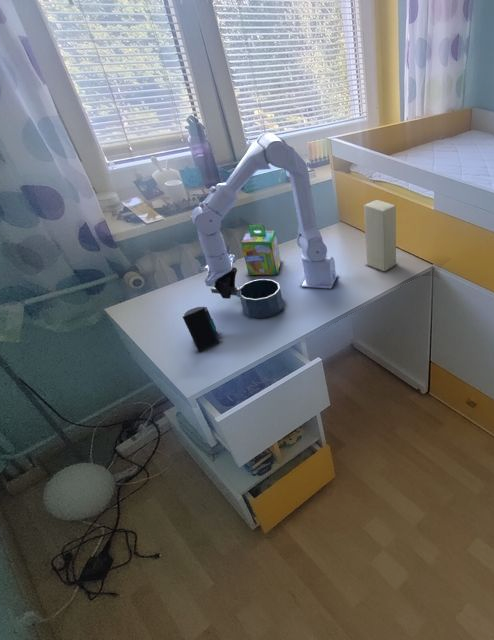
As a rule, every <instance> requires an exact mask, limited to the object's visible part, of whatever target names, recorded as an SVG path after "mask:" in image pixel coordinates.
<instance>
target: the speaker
mask: <svg viewBox="0 0 494 640" xmlns="http://www.w3.org/2000/svg"><path fill="white" fill-rule="evenodd" d="M182 319H183V321H184V323H185V326H186V328H187V330H188V332H189V335H190V337H191V338H192V341H193V343H194V345H195V347H196V349H197V351H198V352H199V353H200V352H203V351H205V350H207V349H209V348H212V347H213V346H215V345H217V344H219V343H220V341H219V339H218V338H219V333H218V331H217V327H216V324H215V321H214V319H213V318H212V316H211V314H210V312H209V309H208V307H207V306H196V307H193V308H190V309H188V310H187V311H186V312H184V313H183V316H182Z"/></svg>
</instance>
